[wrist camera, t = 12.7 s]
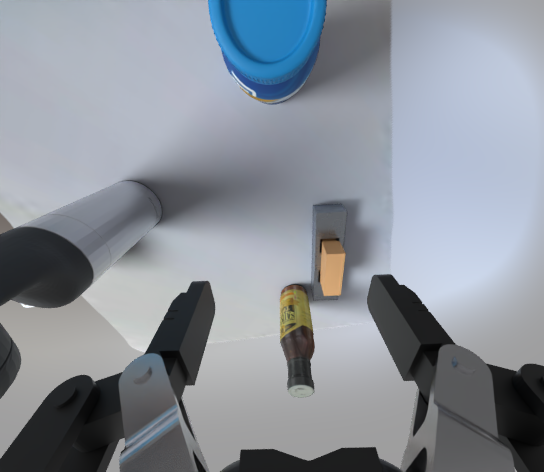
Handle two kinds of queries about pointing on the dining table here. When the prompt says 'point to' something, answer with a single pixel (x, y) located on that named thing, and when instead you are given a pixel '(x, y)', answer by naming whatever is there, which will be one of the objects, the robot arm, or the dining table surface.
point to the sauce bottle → (297, 339)
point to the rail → (325, 226)
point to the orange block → (331, 266)
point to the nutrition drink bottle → (268, 43)
